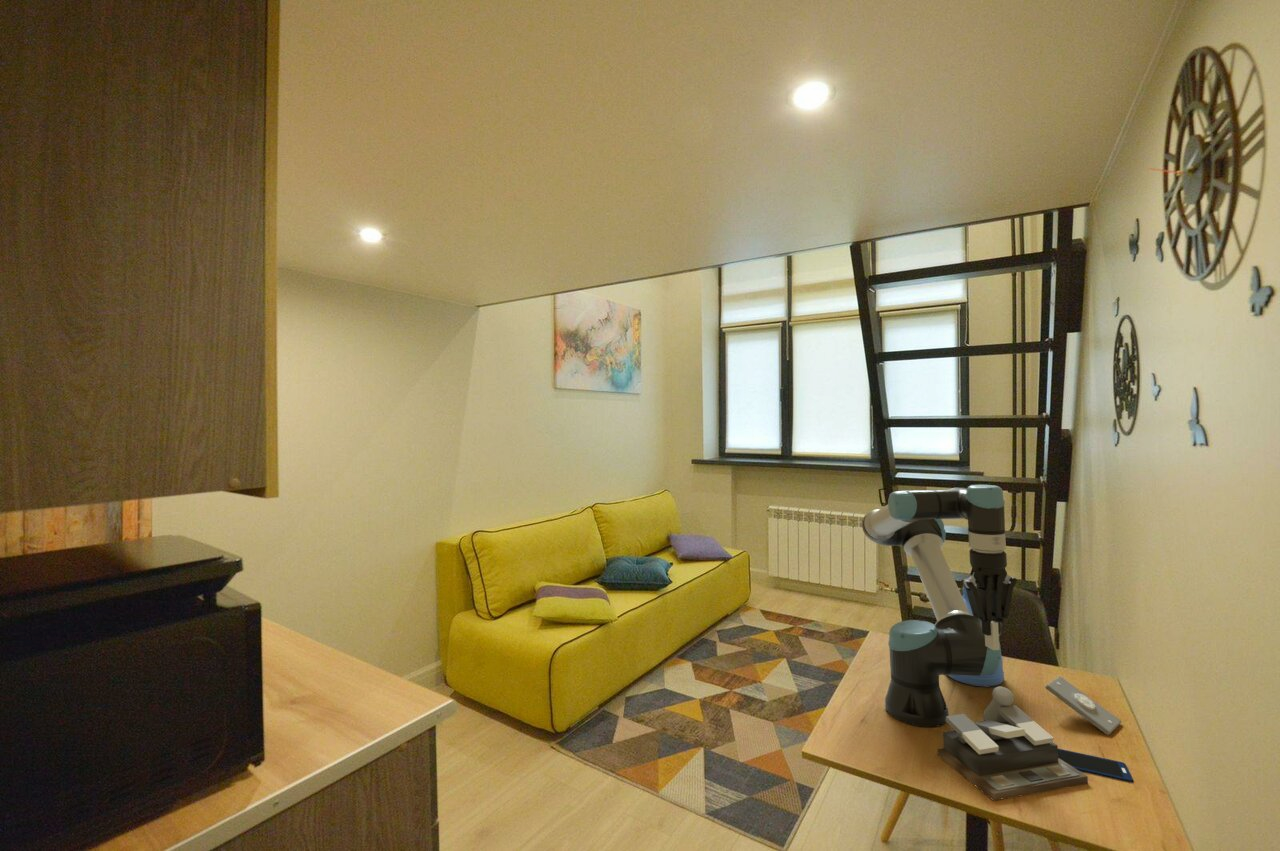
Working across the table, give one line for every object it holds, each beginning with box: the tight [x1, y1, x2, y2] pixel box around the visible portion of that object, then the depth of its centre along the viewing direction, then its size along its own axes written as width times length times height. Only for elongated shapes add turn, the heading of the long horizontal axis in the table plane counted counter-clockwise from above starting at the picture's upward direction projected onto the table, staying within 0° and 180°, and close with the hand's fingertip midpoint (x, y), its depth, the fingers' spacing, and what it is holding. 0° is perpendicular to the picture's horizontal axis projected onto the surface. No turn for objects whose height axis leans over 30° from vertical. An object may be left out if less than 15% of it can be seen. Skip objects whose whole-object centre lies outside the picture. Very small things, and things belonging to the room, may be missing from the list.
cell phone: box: [1058, 748, 1134, 783], centre depth 121 cm, size 7×14×1 cm, turn 59°
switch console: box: [937, 722, 1089, 801], centre depth 121 cm, size 16×23×5 cm
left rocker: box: [946, 713, 999, 754], centre depth 122 cm, size 10×5×3 cm, turn 11°
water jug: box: [947, 584, 1005, 688], centre depth 165 cm, size 16×16×28 cm
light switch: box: [1044, 675, 1122, 736], centre depth 139 cm, size 8×6×14 cm
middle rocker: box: [974, 720, 1026, 740], centre depth 123 cm, size 10×5×3 cm, turn 9°
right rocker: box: [998, 704, 1055, 746], centre depth 125 cm, size 10×5×3 cm, turn 11°
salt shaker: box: [982, 685, 1015, 723], centre depth 133 cm, size 6×6×13 cm
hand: (992, 647), depth 130 cm, fingers closed
